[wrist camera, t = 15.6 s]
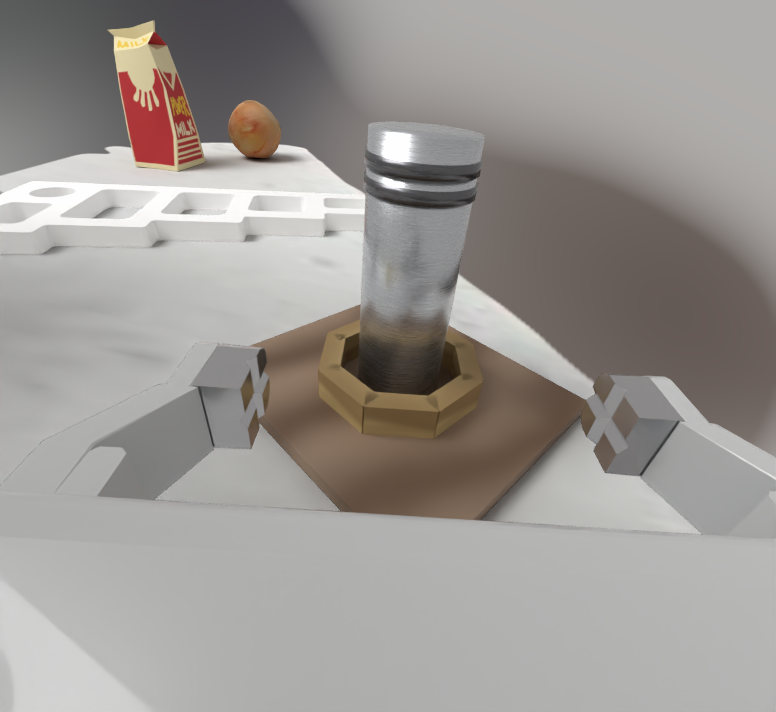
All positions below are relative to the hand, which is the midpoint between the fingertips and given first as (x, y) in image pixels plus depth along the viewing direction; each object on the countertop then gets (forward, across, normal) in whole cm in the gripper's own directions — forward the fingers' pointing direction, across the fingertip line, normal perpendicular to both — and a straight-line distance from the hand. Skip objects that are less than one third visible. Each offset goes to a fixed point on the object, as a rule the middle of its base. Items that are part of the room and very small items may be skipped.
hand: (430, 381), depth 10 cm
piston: (+12, 0, +10) cm, 15 cm away
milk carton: (+70, +41, +11) cm, 82 cm away
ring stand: (+12, 0, +11) cm, 16 cm away
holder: (+40, +22, +12) cm, 47 cm away
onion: (+81, +28, +11) cm, 87 cm away
